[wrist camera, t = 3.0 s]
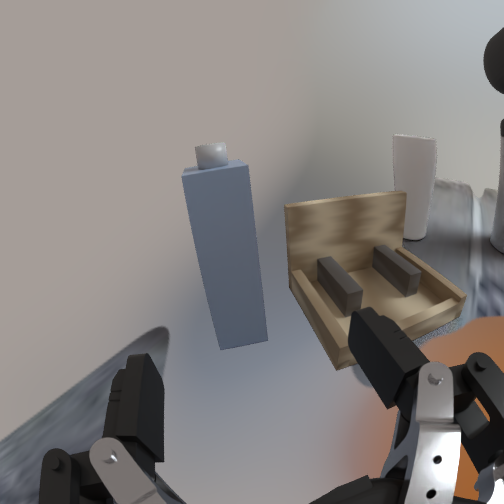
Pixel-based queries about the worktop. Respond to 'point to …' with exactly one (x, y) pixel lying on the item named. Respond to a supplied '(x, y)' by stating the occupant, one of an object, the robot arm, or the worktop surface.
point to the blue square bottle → (226, 245)
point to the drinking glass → (415, 180)
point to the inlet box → (362, 270)
